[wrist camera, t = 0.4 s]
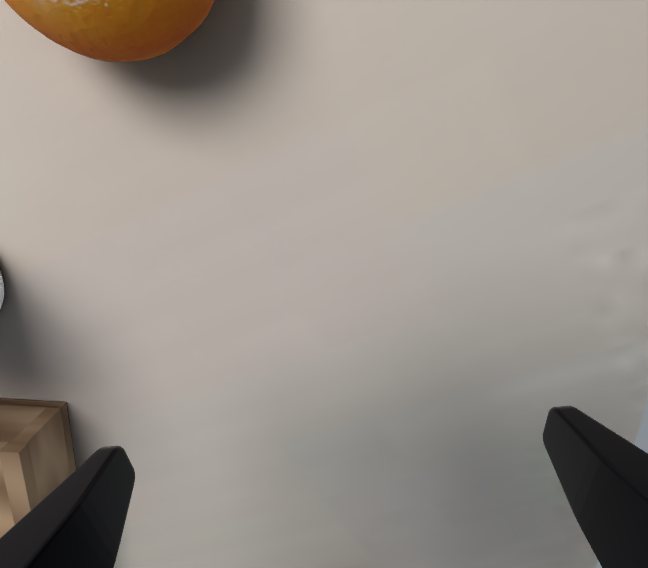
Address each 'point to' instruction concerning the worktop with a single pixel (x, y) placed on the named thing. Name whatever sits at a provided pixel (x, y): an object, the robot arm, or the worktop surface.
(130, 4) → the fruit
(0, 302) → the can
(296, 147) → the worktop surface
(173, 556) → the worktop surface
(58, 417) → the tray
